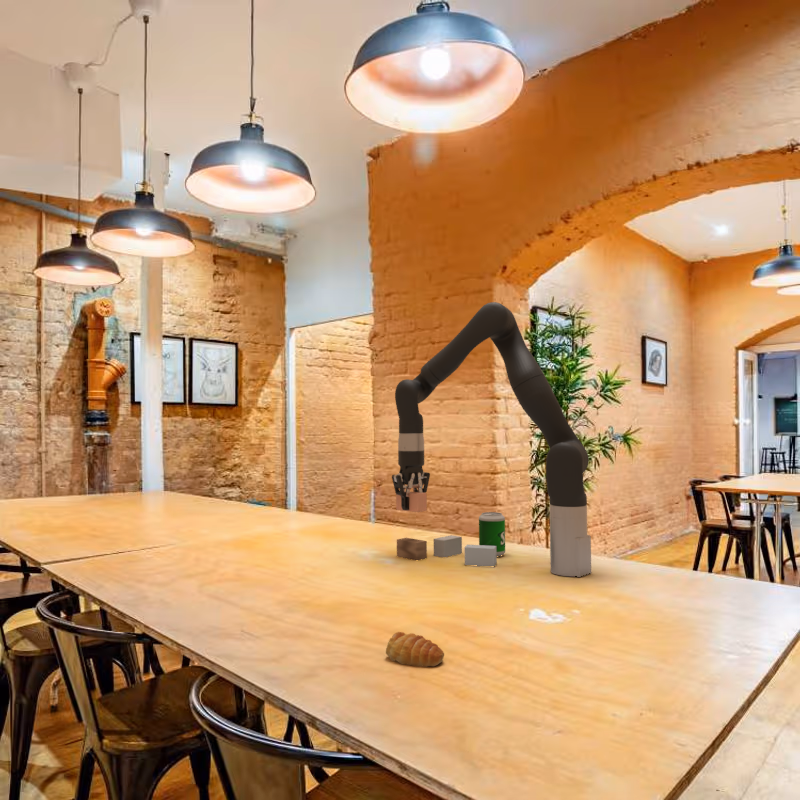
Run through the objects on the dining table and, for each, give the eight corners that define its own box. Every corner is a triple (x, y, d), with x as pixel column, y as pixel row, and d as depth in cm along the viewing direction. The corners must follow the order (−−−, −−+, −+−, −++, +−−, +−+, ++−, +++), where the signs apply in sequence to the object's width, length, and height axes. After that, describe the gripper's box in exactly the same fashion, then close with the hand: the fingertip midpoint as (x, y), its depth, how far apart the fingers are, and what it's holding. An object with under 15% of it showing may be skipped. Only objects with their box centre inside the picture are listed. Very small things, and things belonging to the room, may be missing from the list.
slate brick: (451, 552, 188) (451, 535, 188) (461, 553, 185) (461, 536, 185) (433, 556, 182) (433, 538, 183) (444, 558, 180) (444, 540, 180)
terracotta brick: (426, 510, 180) (426, 492, 180) (417, 512, 177) (417, 494, 177) (405, 508, 185) (405, 491, 185) (396, 509, 182) (396, 492, 182)
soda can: (497, 559, 177) (497, 516, 178) (474, 555, 182) (473, 514, 182) (510, 554, 183) (509, 513, 184) (487, 551, 188) (486, 511, 188)
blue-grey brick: (496, 564, 171) (496, 546, 171) (494, 567, 167) (494, 548, 168) (467, 562, 173) (467, 544, 174) (464, 566, 170) (464, 547, 170)
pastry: (452, 659, 103) (451, 636, 103) (431, 674, 97) (430, 649, 97) (403, 648, 108) (403, 626, 108) (381, 661, 102) (381, 637, 103)
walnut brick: (426, 558, 179) (426, 541, 179) (417, 561, 176) (417, 543, 176) (406, 554, 184) (406, 537, 185) (396, 557, 182) (396, 539, 182)
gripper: (403, 450, 174) (403, 513, 173) (437, 448, 184) (437, 508, 183) (384, 449, 179) (384, 510, 178) (418, 448, 189) (418, 505, 188)
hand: (411, 508), depth 181 cm, fingers closed on terracotta brick, 4 cm apart
